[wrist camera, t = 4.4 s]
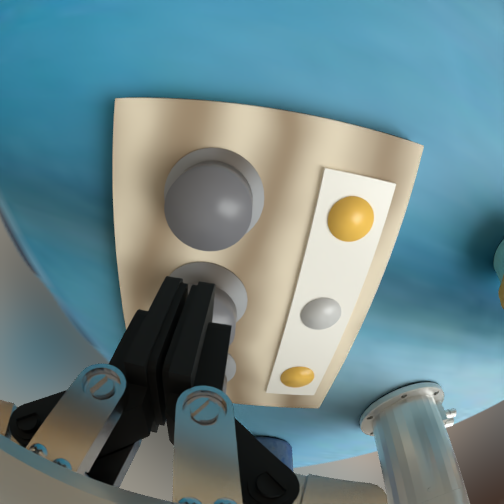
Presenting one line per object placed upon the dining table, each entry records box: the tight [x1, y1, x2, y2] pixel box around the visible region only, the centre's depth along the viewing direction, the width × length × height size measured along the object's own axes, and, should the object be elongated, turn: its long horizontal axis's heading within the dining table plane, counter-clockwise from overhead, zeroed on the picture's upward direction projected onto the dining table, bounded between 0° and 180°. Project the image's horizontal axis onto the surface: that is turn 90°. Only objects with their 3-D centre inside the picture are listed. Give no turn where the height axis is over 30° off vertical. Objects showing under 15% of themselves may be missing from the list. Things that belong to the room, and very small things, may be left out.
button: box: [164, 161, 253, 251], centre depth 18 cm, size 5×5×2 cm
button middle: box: [188, 283, 237, 346], centre depth 21 cm, size 5×5×2 cm
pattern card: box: [266, 167, 396, 395], centre depth 23 cm, size 5×22×1 cm, turn 172°
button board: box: [113, 97, 424, 408], centre depth 24 cm, size 20×28×2 cm
